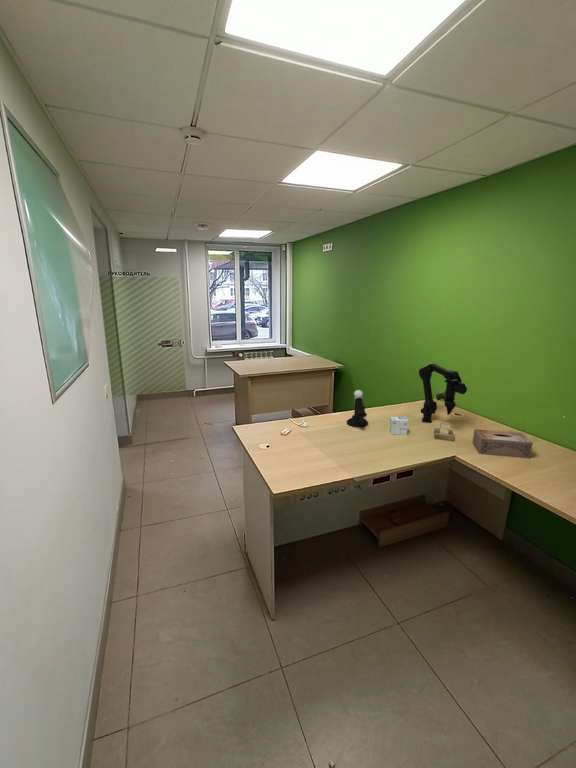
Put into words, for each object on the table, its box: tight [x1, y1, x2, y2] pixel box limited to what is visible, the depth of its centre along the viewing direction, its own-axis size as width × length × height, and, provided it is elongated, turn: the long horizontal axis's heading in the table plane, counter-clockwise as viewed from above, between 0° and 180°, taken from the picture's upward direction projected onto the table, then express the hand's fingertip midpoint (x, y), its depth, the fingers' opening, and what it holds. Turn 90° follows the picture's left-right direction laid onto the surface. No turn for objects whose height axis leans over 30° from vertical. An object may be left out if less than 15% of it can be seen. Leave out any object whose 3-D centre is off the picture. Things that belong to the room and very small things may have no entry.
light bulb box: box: [389, 416, 409, 436], centre depth 223 cm, size 11×7×11 cm, turn 84°
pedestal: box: [433, 428, 455, 442], centre depth 217 cm, size 11×11×3 cm
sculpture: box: [346, 389, 369, 428], centre depth 234 cm, size 15×24×25 cm, turn 1°
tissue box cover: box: [472, 428, 534, 459], centre depth 197 cm, size 26×14×10 cm, turn 76°
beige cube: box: [439, 421, 450, 434], centre depth 216 cm, size 5×5×6 cm
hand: (448, 412), depth 224 cm, fingers open, 9 cm apart
